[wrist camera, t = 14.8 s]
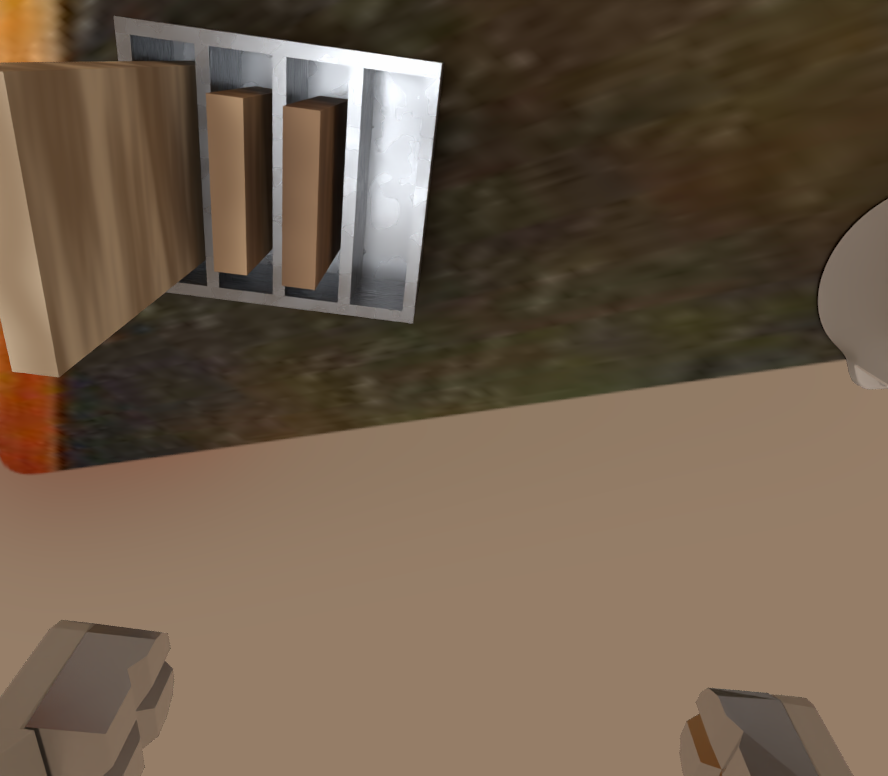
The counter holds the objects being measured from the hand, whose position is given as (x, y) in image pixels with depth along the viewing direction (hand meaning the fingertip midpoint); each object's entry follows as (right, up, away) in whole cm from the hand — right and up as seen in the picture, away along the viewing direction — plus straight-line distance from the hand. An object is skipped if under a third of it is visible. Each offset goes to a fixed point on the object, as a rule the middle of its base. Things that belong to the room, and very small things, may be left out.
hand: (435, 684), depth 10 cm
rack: (-10, +21, +36) cm, 43 cm away
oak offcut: (-12, +20, +34) cm, 42 cm away
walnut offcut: (-8, +20, +35) cm, 41 cm away
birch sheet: (-16, +21, +34) cm, 43 cm away
